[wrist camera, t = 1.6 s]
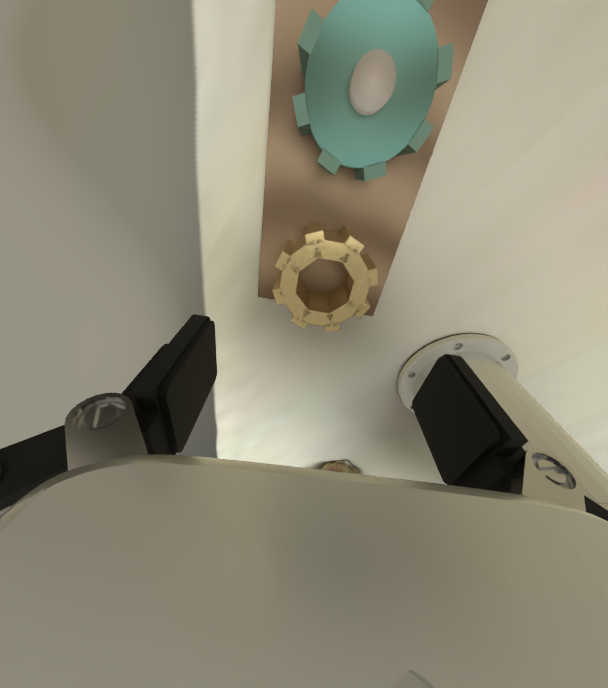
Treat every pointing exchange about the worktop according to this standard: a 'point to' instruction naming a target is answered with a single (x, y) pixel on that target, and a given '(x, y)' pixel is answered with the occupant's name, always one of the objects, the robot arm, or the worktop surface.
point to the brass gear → (341, 299)
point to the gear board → (340, 191)
